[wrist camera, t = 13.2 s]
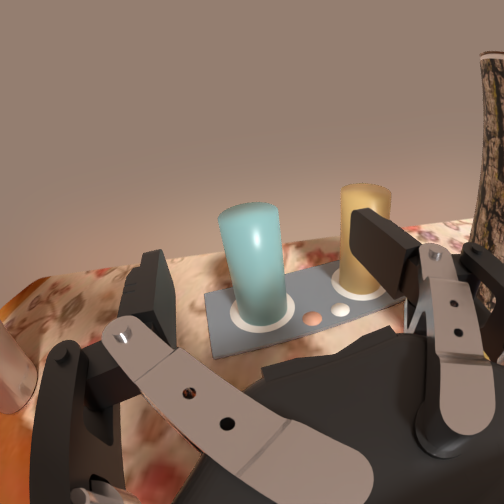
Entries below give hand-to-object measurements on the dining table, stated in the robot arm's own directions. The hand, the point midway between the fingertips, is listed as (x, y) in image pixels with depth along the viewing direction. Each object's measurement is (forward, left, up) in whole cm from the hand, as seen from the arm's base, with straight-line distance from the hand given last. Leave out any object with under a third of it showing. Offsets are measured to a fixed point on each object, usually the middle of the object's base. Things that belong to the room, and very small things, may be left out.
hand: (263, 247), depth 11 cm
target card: (+7, +12, -15) cm, 21 cm away
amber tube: (+13, +12, -15) cm, 24 cm away
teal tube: (+1, +12, -15) cm, 19 cm away
